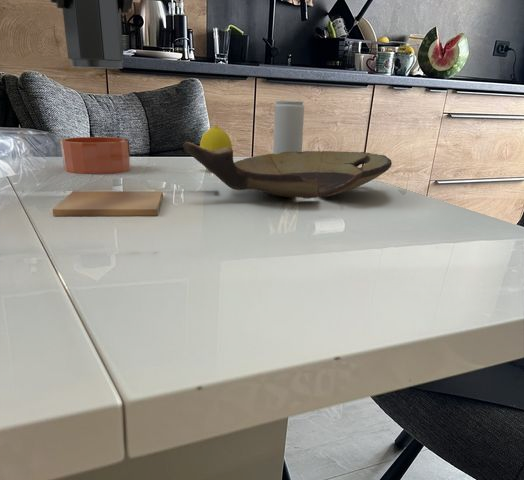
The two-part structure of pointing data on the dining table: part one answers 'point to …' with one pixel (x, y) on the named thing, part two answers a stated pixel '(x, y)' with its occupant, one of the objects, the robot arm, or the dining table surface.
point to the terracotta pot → (96, 155)
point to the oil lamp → (293, 170)
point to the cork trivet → (110, 203)
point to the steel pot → (93, 33)
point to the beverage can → (288, 126)
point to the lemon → (215, 139)
